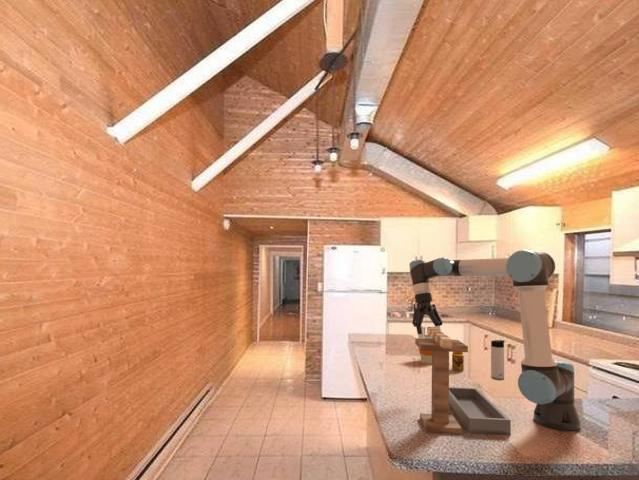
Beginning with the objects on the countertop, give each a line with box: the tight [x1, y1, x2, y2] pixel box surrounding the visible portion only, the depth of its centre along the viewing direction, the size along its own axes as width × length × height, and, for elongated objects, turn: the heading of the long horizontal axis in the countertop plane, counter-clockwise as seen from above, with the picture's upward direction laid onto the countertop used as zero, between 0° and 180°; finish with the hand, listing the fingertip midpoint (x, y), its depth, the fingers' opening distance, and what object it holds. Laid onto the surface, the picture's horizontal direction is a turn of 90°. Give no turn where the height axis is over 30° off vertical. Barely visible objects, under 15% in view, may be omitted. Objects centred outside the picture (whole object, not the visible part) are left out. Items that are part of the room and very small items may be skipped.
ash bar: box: [426, 326, 453, 348], centre depth 147 cm, size 26×3×3 cm, turn 176°
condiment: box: [449, 352, 467, 373], centre depth 220 cm, size 7×8×12 cm
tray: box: [449, 386, 512, 436], centre depth 154 cm, size 35×14×5 cm, turn 176°
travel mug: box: [490, 339, 506, 381], centre depth 205 cm, size 6×7×20 cm
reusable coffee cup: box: [418, 334, 432, 365], centre depth 237 cm, size 13×13×15 cm
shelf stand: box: [414, 338, 469, 435], centre depth 143 cm, size 12×16×30 cm
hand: (431, 341), depth 174 cm, fingers open, 13 cm apart
